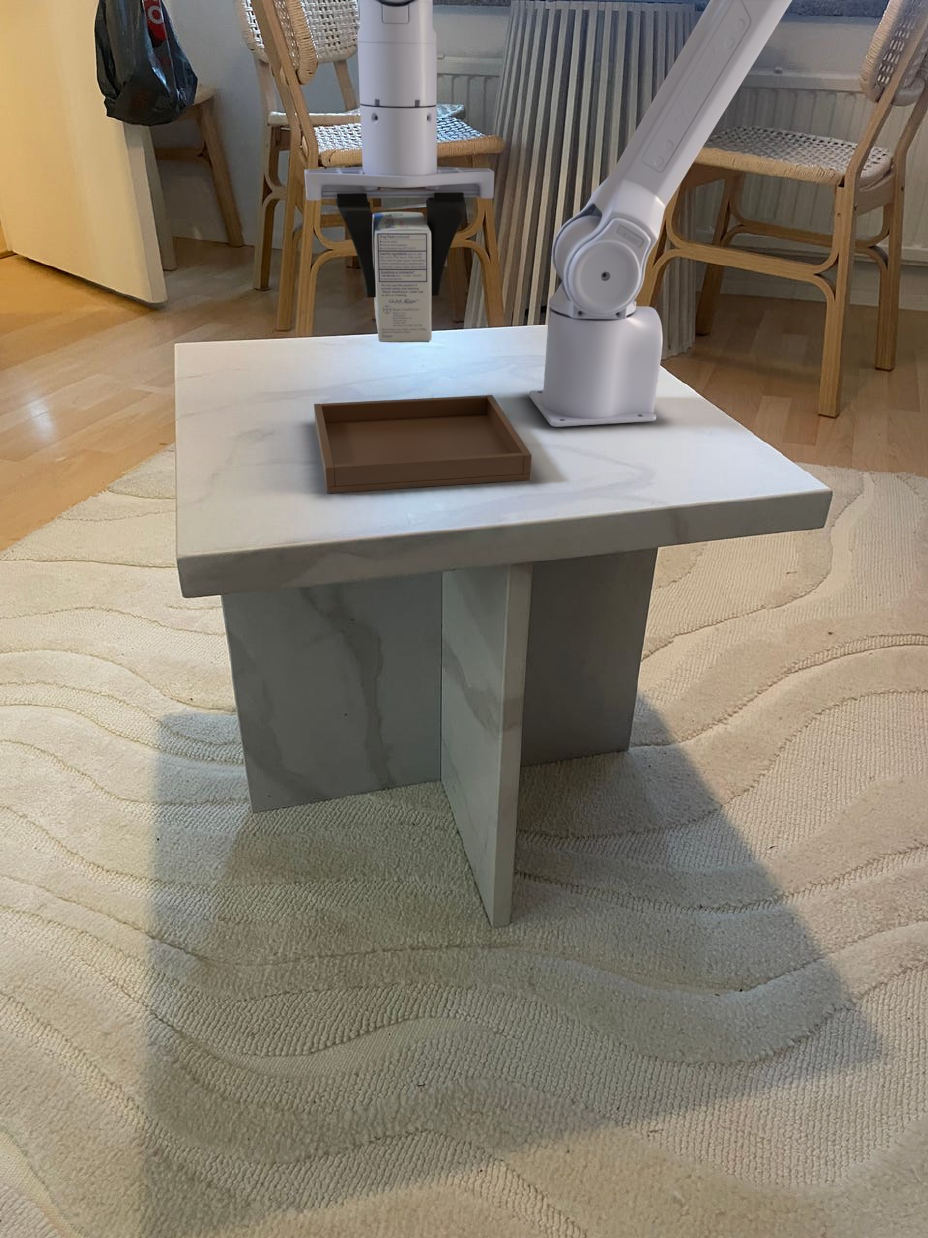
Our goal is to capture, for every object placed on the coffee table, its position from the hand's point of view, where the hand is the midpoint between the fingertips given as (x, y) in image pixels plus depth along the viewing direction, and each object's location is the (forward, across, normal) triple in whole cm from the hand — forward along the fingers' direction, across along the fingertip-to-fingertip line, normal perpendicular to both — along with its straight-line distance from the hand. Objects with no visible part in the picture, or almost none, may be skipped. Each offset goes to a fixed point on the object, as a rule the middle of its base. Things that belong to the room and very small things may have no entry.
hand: (402, 293), depth 75 cm
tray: (+10, 0, +10) cm, 14 cm away
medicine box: (+3, 0, 0) cm, 3 cm away
